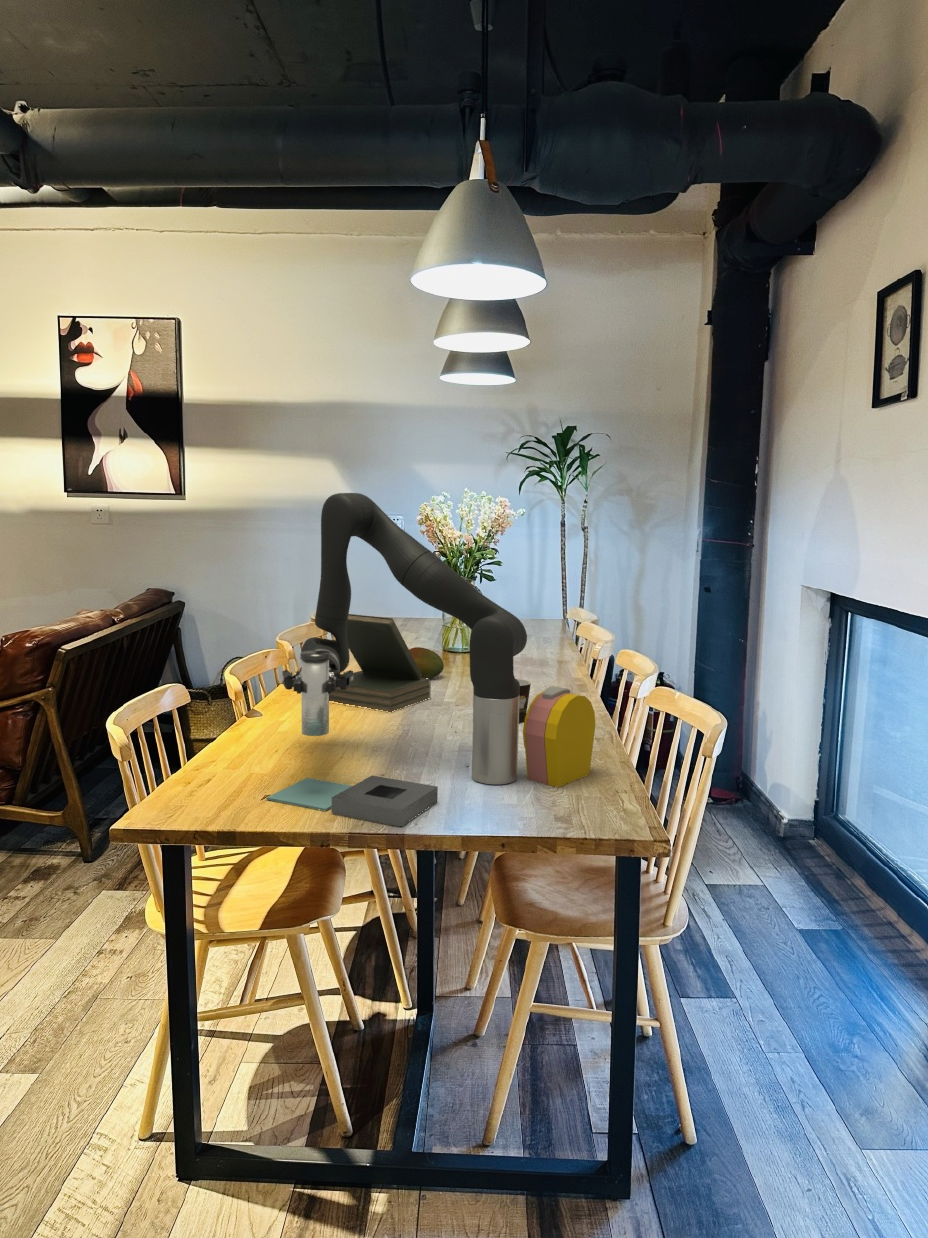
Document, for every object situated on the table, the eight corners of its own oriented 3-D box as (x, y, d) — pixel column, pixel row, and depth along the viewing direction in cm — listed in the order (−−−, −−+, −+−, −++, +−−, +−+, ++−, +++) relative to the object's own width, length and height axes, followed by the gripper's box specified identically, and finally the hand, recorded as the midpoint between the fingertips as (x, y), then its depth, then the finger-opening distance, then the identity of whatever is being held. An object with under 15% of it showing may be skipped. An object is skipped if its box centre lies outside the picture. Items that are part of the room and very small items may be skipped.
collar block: (371, 790, 165) (371, 775, 165) (437, 802, 159) (437, 786, 159) (331, 813, 152) (331, 797, 152) (401, 827, 147) (401, 810, 146)
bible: (430, 700, 243) (431, 612, 239) (390, 714, 226) (391, 620, 223) (364, 690, 254) (365, 606, 251) (322, 702, 237) (321, 613, 234)
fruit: (398, 676, 274) (398, 645, 273) (434, 673, 279) (434, 643, 278) (411, 683, 264) (411, 651, 262) (448, 680, 269) (449, 649, 268)
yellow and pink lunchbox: (560, 764, 184) (563, 680, 182) (593, 772, 179) (597, 685, 176) (519, 780, 173) (522, 691, 170) (553, 789, 167) (556, 697, 165)
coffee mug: (527, 716, 225) (528, 678, 224) (531, 724, 217) (532, 685, 215) (483, 715, 225) (484, 678, 223) (485, 724, 216) (486, 685, 215)
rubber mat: (307, 780, 170) (307, 777, 170) (363, 790, 165) (363, 787, 165) (266, 800, 159) (266, 797, 159) (325, 811, 153) (325, 808, 153)
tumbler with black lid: (318, 727, 164) (318, 649, 162) (335, 732, 160) (336, 653, 158) (294, 732, 160) (294, 652, 158) (311, 738, 157) (311, 656, 154)
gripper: (284, 651, 172) (274, 667, 155) (356, 651, 173) (354, 668, 157) (284, 687, 173) (274, 708, 156) (356, 688, 174) (353, 708, 158)
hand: (314, 688), depth 157 cm, fingers closed on tumbler with black lid, 5 cm apart
